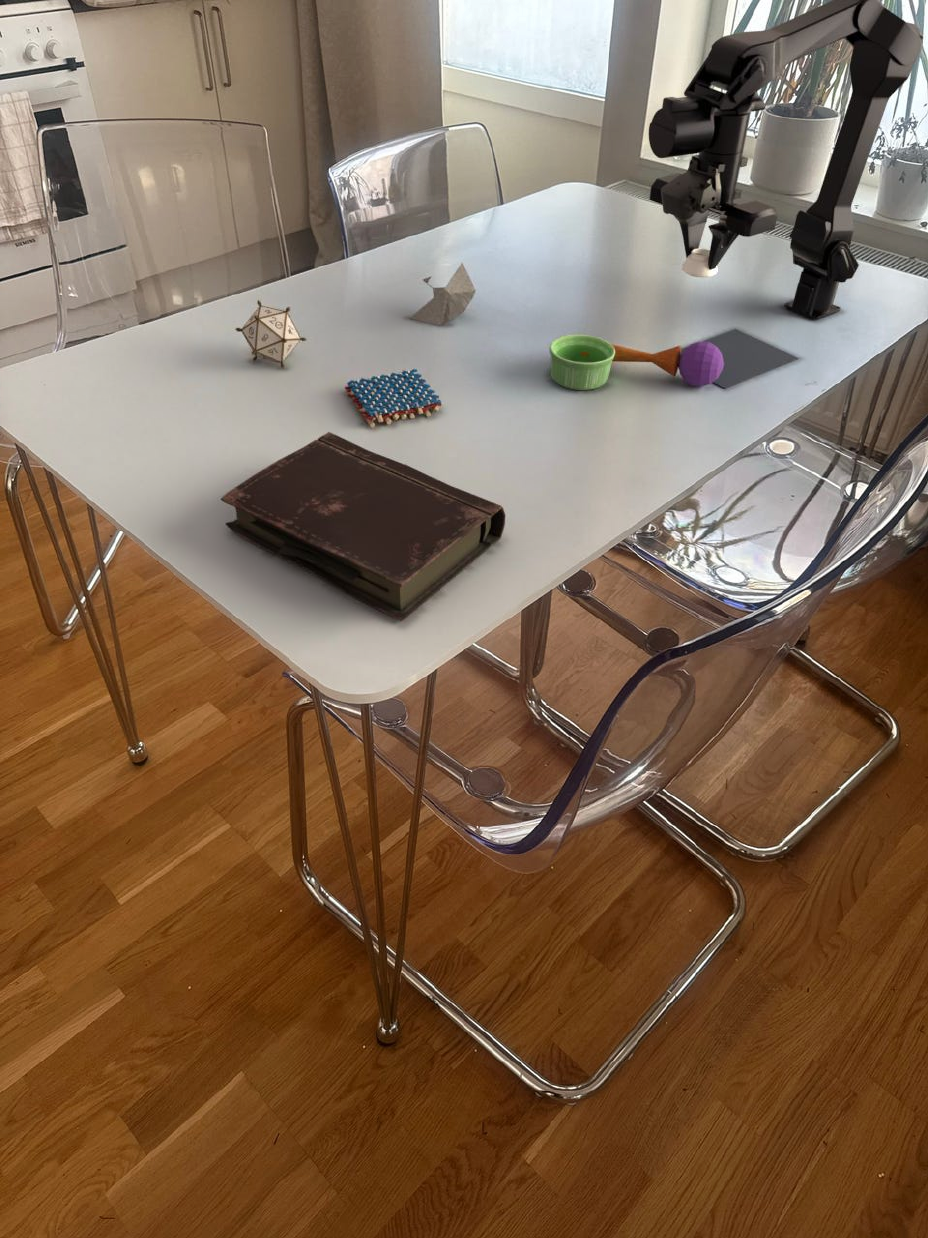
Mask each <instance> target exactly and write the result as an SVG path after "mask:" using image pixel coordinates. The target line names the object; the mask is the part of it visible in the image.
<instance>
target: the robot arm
mask: <svg viewBox="0 0 928 1238" xmlns="http://www.w3.org/2000/svg"><path fill="white" fill-rule="evenodd" d="M843 39H844V40H845V42H847V43H848V45H849V46H851V47H852V52H851V55H850V56H851V57H850V62H849V67H848V68H849V75H850V83H851V96H850V98H849V101H848V104H847V108H846V110H845V114H844V117H843V120H842V123H841V126H840V129H839V132H838V135H837V138H836V141H835V144H834V147H833V150H832V153H831V156H830V159H829V162H828V165H827V169H826V171H825V174H824V177H823V180H822V184H821V187H820V190H819V193H818V196H817V198H816V200H815V201H814V202H813V203H812V204H811V205H810V206H809V207H808V208H807V209H806V210H799V211H798V212H797V214H796V216H795V220H794V226H793V228H792V230H791V232H790V233H789V235H788V238H790V243H789V248H790V250H791V251H792V252H791V253H792V264H793V265H795V266H798V267H800V268H802V271H801V273H800V276H799V279H798V283H797V284H796V285H797V286H796V288H795V293H794V297H793V299H792V300H789V301H787V302H785V303H784V305H783V307H784V308H786V309H789V310H790V311H793V312H795V313H798V314H800V315H803V316H804V317H807V318H809V319H811V320H814V321H818V320H820V319H823V318H826V317H828V316H831V315H833V314H836V313H838V312H840V311H841V307H840V306H838V305H836V304H834V302H835V299H836V296H837V291H838V288H839V284H840V283H846V282H847V280H851V279H853V277H854V276H855V274H856V272H857V270H858V268H859V266H860V263H859V262H858V261H857V259H856V257H855V255H854V253H853V252H852V250H851V248H850V247H851V244H852V238H853V235H854V229H855V227H854V220H853V212H852V205H853V202H854V199H855V197H856V193H857V190H858V187H859V185H860V182H861V179H862V176H863V173H864V171H865V168H866V165H867V163H868V159H869V156H870V153H871V152H872V151H871V150H872V148H873V145H874V142H875V139H876V136H877V134H878V131H879V128H880V125H881V122H882V121H883V116H884V114H885V111H886V108H887V105H888V103H889V100H890V98H891V97H892V96H893V95H894V94H895V93H896V92H897V91H898V90H899V89H900V88H901V86H903V84H904V83H906V81H907V80H908V79H909V77H910V76H911V73H912V71H913V69H914V67H915V65H916V62H917V60H918V59H919V56H920V54H921V51H922V49H923V44H924V36H923V35H922V32H921V28H920V27H919V26H918V24H914V23H911V22H908V21H906V20H904V19H902V17H900V16H898V15H897V14H895V13H894V12H892V11H891V10H890V9H888V8H886V7H885V5H883V3H881V2H880V1H879V0H830V1H828V2H826V3H824V4H821V5H820V6H817V7H815V8H813V9H811V10H808V11H806V12H804V13H802V14H800V15H798V16H795V17H793V18H791V19H789V20H787V21H784V22H782V23H779V24H778V25H776V26H773V27H771V28H768V29H764V30H763V29H762V30H754V31H742V32H738V33H733V34H728V35H724V36H722V37H720V38H719V39H717V40H715V41H714V42H713V44H711V49H710V51H709V52H708V55H707V57H705V60H704V61H703V63H701V66H700V67H699V69H698V70H697V72H696V73H695V75H694V76H693V78H692V79H691V81H690V82H689V84H688V85H687V86H686V88H685V89H684V92H683V96H682V97H675V96H667V97H663V99H662V105H661V108H659V109H657V111H656V112H655V113H654V115H653V116H652V119H651V122H650V123H649V124H648V125H649V126H648V143H649V147H650V150H651V151H652V153H653V155H654V156H655V157H656V158H658V159H666V158H668V159H669V158H673V157H681V156H689V155H691V159H690V160H689V162H688V163H689V165H688V168H687V170H686V172H684V173H679V172H677V173H673V174H669V175H665V176H661V177H657V178H655V180H654V182H653V183H652V184H651V186H650V192H649V197H648V199H649V201H651V202H654V203H657V204H659V205H662V213H664V214H666V215H672V216H673V217H674V218H675V219H676V220H677V221H678V223H679V226H680V231H681V235H682V240H683V246H684V253H685V258H686V259H687V257H688V256H689V255H690V254H692V253H691V252H692V250H694V249H698V248H700V245H701V240H702V238H703V234H704V230H705V228H706V224H707V221H708V217H709V214H710V212H711V213H714V214H717V215H720V216H719V218H718V219H719V220H718V222H716V223H713V224H709V225H708V226H707V227H708V229H709V231H710V233H711V236H712V238H711V242H710V247H709V250H710V253H709V259H708V267H709V270H712V269H715V268H716V266H717V267H718V265H719V263H720V262H721V261H722V259H723V258H724V256H725V255H726V253H727V252H728V251H729V249H730V247H731V246H732V244H733V243H734V242H735V240H736V239H738V237H739V236H741V237H747V238H749V237H753V236H756V235H760V234H763V233H767V232H770V231H773V230H775V229H776V225H777V221H778V212H777V209H776V207H774V206H772V205H769V204H767V203H764V202H760V201H758V200H752V201H748V202H744V203H741V204H738V203H735V202H734V200H737V199H741V196H742V189H740V188H737V185H738V180H739V175H740V170H741V168H743V167H747V165H748V161H749V157H747V156H743V155H744V151H745V150H744V149H745V145H746V140H747V139H746V138H747V135H748V129H749V123H750V119H751V114H752V113H754V112H760V111H764V110H765V109H766V107H767V104H766V103H765V102H764V100H763V99H762V98H761V97H760V95H759V93H758V91H760V90H762V89H763V88H764V87H766V86H767V85H769V84H770V83H771V82H773V81H774V80H775V79H776V77H777V75H778V73H779V72H780V71H781V69H783V68H784V67H787V65H789V64H792V63H793V62H796V61H798V60H800V59H802V58H805V57H806V56H809V55H811V54H812V53H815V52H817V51H819V50H822V49H824V48H826V47H828V46H830V45H832V44H834V43H837V42H840V41H842V40H843ZM711 86H712V87H715V89H714V88H712V87H711ZM716 88H717V89H716ZM718 89H721V90H722V91H720V90H718ZM723 91H726V92H723ZM686 259H685V260H686Z"/></svg>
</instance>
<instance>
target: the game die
mask: <svg viewBox="0 0 928 1238" xmlns="http://www.w3.org/2000/svg"><path fill="white" fill-rule="evenodd" d="M256 304H257V305H258V307H257V309H256V310H255V311H254V312H253V314H252V315H251V316H250V317H249V319H247V321H246V323H245V324H244V325H243V326H242V328H240V327H236V328H234V330H235V331H236V332H237V333H238V332H239V333H240V332H241V333H242V335H243V337H244V339H245V341H246V343H247V344H248V346H249V347H250V349H251V356H253V357H252V362H255V361H257V360H258V359H262V360H266V361H270V362H275V363H279V364H280V366H281V368H282V369H285V368H286V365H285V361H286V359H287V358H288V357H289V356H290V354H291V353H292V352H293V350H294V349H295V348H296V346H297V345H298V344H299V343H300V341H302V342H306V341H308V339H307V338H306V337H305V336H304V337H301V335H300V334H299V332H298V330H297V328H296V326H295V324H294V322H293V320H292V318H291V316H290V314H289V312H290V311H291V307H290V306H288V307H286V308H285V310H283V309H279V308H274V307H269V306H265V305H262V301H261V300H260V299H257V302H256Z"/></svg>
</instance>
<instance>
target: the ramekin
mask: <svg viewBox="0 0 928 1238" xmlns="http://www.w3.org/2000/svg"><path fill="white" fill-rule="evenodd" d="M611 344H612V343H610V342H608V341H607V340H605V339H603V338H601V337H597V336H594V335H590V334H589V335H588V334H568V335H567V334H566V335H563V336H560V337H557V338H555V339H554V340H553V341H552V342H551V343H550V344H549V354H550V376H551V379H552V380H553V381H554V382H555V383H556V384H557V385H559V386H562V387H563V388H567V389H570V390H576V391H589V390H596V389H599V388H600V387H602V386H604V385H605V384H606V383H607V382H608V379H609V377H610V371H611V367H612V363H613V362H612V360H613V358H614V356H615V349H614V347H613V346H612V345H611ZM581 352H588V353H589V356H588V357H581Z"/></svg>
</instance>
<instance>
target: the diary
mask: <svg viewBox="0 0 928 1238" xmlns="http://www.w3.org/2000/svg"><path fill="white" fill-rule="evenodd" d="M220 501H221V502H223V503H225V504H227V505H229V506H232V507H233V508H234V509H235V514H236V519H234V520H233V521H229V522H225V526H226V527H227V528H229V530H230V531H232V532H233V533H236V534H237V535H239V536H241V537H243V539H245V540H248V541H249V542H251V543H253V544H255V545H256V546H258V547H260V548H262V549H264V550H265V551H267V552H269V553H271V554H273V555H275V556H277V557H279V558H281V559H283V560H285V561H288V562H290V563H292V564H294V565H296V566H298V567H300V568H303V569H305V570H307V571H308V572H310V573H312V574H313V575H315V576H317V577H318V578H320V579H322V580H324V581H325V582H327V583H328V584H330V585H331V586H333V587H335V588H337V590H340V591H341V592H343V593H345V594H346V595H348V596H350V597H351V598H353V599H355V600H356V601H360V602H362V603H363V604H365V605H368V606H370V607H372V608H374V609H376V610H378V611H380V612H382V613H385V614H387V615H389V616H390V617H393V618H395V619H397V620H399V621H401V622H403V621H404V620H406V619H407V618H408V617H409V616H410V615H412V614H413V613H414V612H415V611H416V610H418V609H419V608H420V607H421V606H422V605H424V603H426V602H427V601H428V600H430V598H432V597H433V596H434V595H436V594H437V593H438V592H439V591H440V590H441V589H442V588H444V587H445V586H446V585H447V584H448V583H449V582H451V581H453V579H454V578H456V577H457V576H458V575H459V574H460V573H462V572H463V571H464V570H465V569H466V568H468V567H469V566H470V565H472V563H473V562H475V561H476V560H477V559H478V558H479V557H481V556H482V555H484V553H486V552H487V550H489V549H490V548H491V547H492V546H494V545H495V544H496V543H497V542H498V541H500V540H501V538H502V536H503V534H504V530H505V526H506V511H505V510H504V507H503V506H502V505H501V504H499V503H496V502H493V501H491V500H488V499H486V498H483V497H480V496H478V495H475V494H473V493H470V492H467V491H465V490H463V489H461V488H457V487H455V486H453V485H450V484H448V483H447V482H444V481H441V480H439V479H438V478H435V477H433V476H431V475H429V474H427V473H425V472H423V471H420V470H418V469H416V468H414V467H411V466H409V465H407V464H404V463H401V462H399V461H396V460H395V459H391V458H389V457H387V456H383V455H381V454H378V453H376V452H374V451H371V450H369V449H366V448H364V447H362V446H360V445H359V444H356V443H354V442H351V441H349V440H348V439H345V438H343V437H342V436H339V435H337V434H335V433H333V432H330V431H328V432H326V433H324V434H323V435H321V436H319V437H318V438H317V439H314V440H312V441H311V442H309V443H308V444H306V445H304V446H303V447H301V448H299V449H297V450H295V451H293V452H291V453H290V454H288V455H286V456H284V457H281V458H280V459H278V460H276V461H275V462H273V463H271V464H270V465H268V466H267V467H265V468H263V469H261V470H260V471H258V472H257V473H255V474H253V475H252V476H250V477H249V478H247V479H246V480H244V481H243V482H241V483H239V484H238V485H236V486H235V487H233V488H232V489H231V490H229V491H228V492H226V493H225V494H224V495H223V496H222V497H221V498H220Z"/></svg>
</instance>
